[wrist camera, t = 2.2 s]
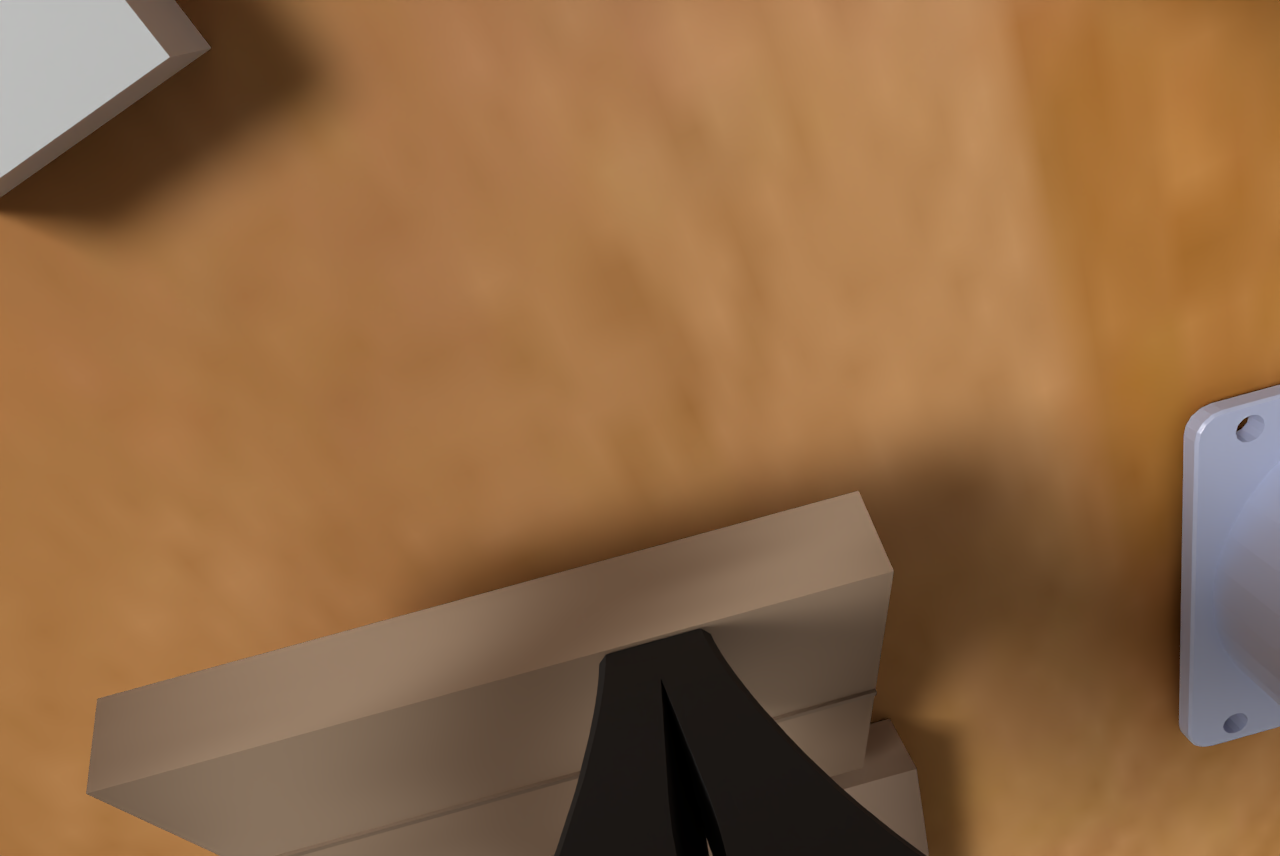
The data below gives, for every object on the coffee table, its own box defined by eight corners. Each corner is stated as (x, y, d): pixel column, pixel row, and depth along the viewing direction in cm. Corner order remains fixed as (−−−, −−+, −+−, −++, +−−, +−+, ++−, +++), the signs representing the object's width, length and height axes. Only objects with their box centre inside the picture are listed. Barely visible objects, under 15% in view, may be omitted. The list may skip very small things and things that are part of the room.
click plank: (857, 491, 12) (895, 574, 12) (841, 706, 19) (864, 770, 18) (97, 699, 12) (85, 797, 12) (341, 846, 19) (344, 916, 18)
